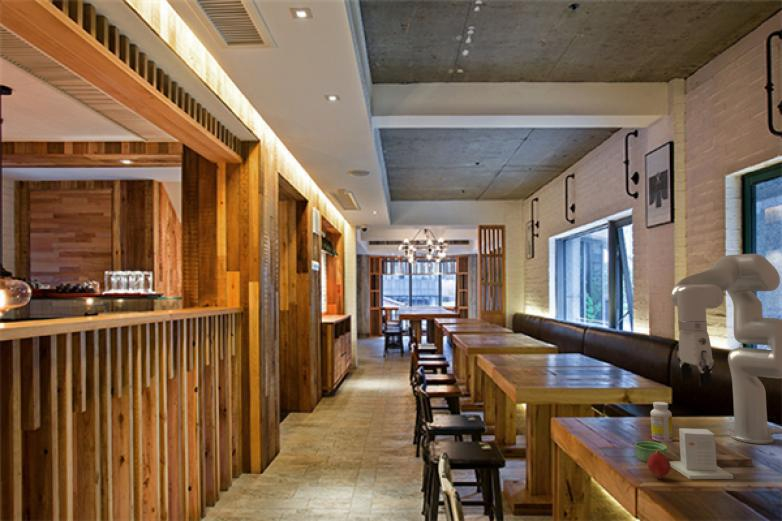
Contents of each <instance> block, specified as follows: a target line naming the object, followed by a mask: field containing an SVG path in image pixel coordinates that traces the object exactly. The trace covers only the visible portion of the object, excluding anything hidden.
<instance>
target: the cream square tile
mask: <svg viewBox="0 0 782 521" xmlns="http://www.w3.org/2000/svg"><path fill="white" fill-rule="evenodd" d="M669 462H670V466H671V469H673V470H676V472H678V473H679V474H681V475H683V476H684V477H685V478H688V479H689V480H731V479H732V480H733V479H734V475H733V474H731V473H730V472H728V471H726V470H724V469H722V468H721V467H720V466H717V471H705V470H687V469H686V468H685V467H684V466H683V465H682V464H681V460H677V461H676V460H672V461H671V460H669Z"/></svg>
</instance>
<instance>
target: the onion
mask: <svg viewBox="0 0 782 521" xmlns="http://www.w3.org/2000/svg"><path fill="white" fill-rule="evenodd" d="M669 461H670V460H669V459H668V458H667V455H666V456H665V455H663V454H662V453H661V452H660V450H657V451H656V452H655V453H653V454H652V455H651V456H650V457H649V459H648V461H647V462H646V465H647V467H648V470H649V471H650V472H651V474H653V475H654V476H655V477H656V478H658V479H663V478H664V477H665V476H666V475H668V474H669V473H670V471H671V469H672V467H671V466H670V462H669Z"/></svg>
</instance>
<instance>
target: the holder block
mask: <svg viewBox="0 0 782 521" xmlns="http://www.w3.org/2000/svg"><path fill="white" fill-rule="evenodd" d="M660 444H663V445H665V446H666V447H667V450H666V453H667V454H670V455H671V456H673V457H675V458H676V459H678V460H679V461H681V455H680V441H672V442H660ZM715 449H716V465H717V466H718V467H753V459H752V458H750V457H748V456H746V455H744V454H742V453H740V452H737V451H736V450H734V449H732V448H730V447H727V446H725V445H724V444H721V443H719V442H717V441H715Z"/></svg>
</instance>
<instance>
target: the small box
mask: <svg viewBox="0 0 782 521" xmlns="http://www.w3.org/2000/svg"><path fill="white" fill-rule="evenodd" d="M678 434H679V442H680V455H681V460H680V461H681V464H682V465H683V466H684V467H685V468H686V469H687V470H705V471H717V465H716V449H715V442H716V436H715V434H714V433H713V432H712V431H711V430H709V429H706V428H679V429H678Z"/></svg>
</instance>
